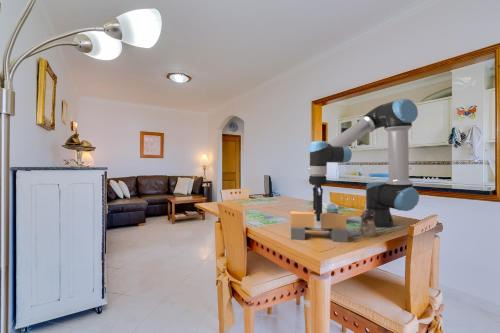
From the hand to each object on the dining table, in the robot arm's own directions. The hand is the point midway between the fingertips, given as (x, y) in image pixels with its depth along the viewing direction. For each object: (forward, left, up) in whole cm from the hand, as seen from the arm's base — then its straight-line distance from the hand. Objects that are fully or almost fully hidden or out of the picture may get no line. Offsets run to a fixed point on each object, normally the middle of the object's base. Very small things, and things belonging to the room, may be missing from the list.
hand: (317, 226), depth 110 cm
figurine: (-24, -8, -5) cm, 26 cm away
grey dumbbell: (0, 0, -5) cm, 5 cm away
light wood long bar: (0, 0, 0) cm, 0 cm away
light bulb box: (-10, -28, -5) cm, 30 cm away
